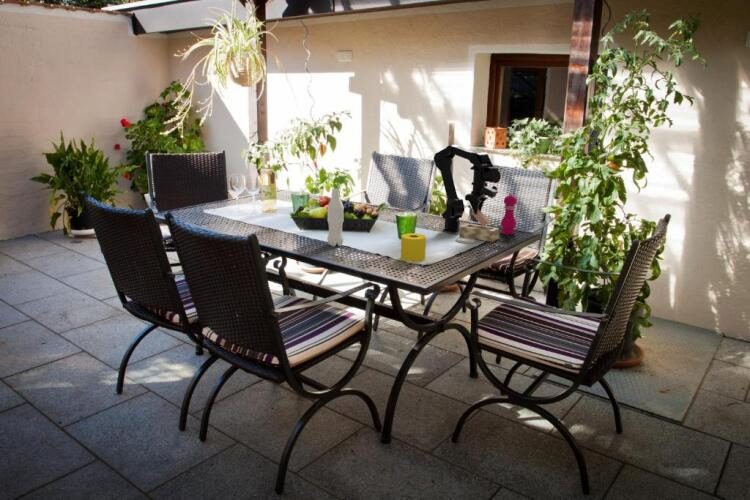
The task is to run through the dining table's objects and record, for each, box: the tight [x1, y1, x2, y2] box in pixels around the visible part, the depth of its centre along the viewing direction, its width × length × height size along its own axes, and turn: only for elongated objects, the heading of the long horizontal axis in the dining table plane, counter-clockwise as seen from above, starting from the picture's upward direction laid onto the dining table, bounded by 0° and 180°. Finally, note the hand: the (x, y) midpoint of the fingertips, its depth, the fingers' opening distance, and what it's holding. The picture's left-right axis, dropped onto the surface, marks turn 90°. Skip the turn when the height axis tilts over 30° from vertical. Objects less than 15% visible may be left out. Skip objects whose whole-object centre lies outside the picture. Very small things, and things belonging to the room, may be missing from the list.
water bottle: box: [326, 188, 345, 247], centre depth 267 cm, size 7×7×25 cm
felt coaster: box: [455, 236, 477, 244], centre depth 282 cm, size 9×9×1 cm
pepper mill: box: [500, 191, 518, 235], centre depth 296 cm, size 7×7×20 cm
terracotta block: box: [470, 209, 492, 227], centre depth 286 cm, size 9×4×2 cm
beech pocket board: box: [459, 223, 500, 243], centre depth 288 cm, size 16×8×5 cm, turn 59°
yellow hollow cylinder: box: [400, 232, 427, 263], centre depth 251 cm, size 10×10×9 cm
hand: (477, 213), depth 286 cm, fingers closed on terracotta block, 4 cm apart
